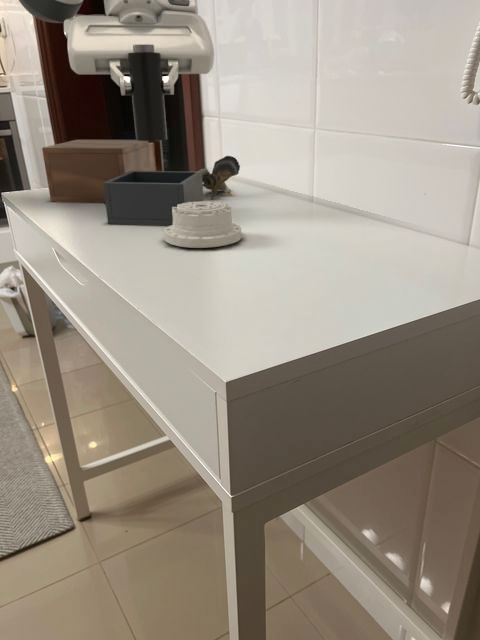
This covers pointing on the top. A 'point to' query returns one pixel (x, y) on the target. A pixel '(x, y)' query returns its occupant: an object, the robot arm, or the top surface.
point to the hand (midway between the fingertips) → (148, 91)
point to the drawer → (156, 155)
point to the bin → (150, 196)
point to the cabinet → (91, 167)
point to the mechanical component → (202, 225)
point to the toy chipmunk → (220, 175)
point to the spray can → (147, 93)
